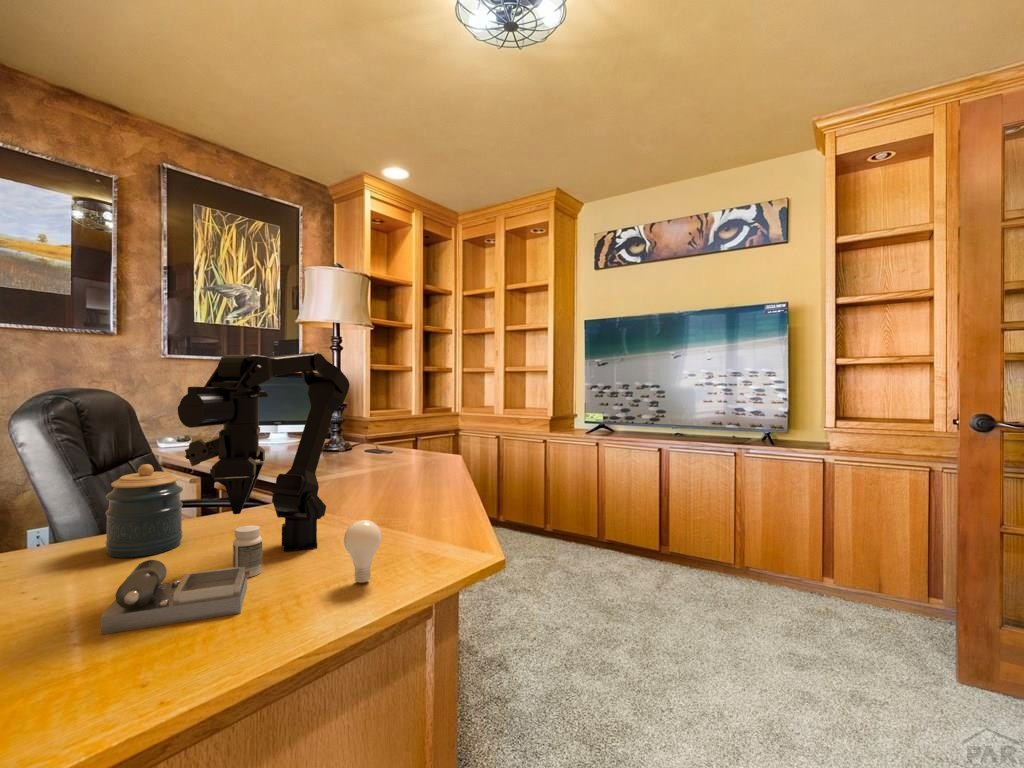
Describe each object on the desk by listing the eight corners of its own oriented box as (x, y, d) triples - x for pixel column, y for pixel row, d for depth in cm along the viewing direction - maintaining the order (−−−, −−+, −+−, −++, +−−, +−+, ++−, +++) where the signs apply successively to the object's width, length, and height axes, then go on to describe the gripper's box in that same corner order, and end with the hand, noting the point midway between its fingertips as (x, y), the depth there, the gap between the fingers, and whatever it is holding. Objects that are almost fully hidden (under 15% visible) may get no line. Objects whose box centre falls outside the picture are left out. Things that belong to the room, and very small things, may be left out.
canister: (157, 535, 112) (158, 457, 112) (196, 543, 107) (197, 461, 107) (90, 553, 100) (91, 466, 100) (130, 563, 95) (131, 471, 95)
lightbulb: (346, 593, 83) (347, 527, 83) (340, 579, 88) (341, 518, 88) (384, 586, 86) (385, 523, 86) (376, 573, 91) (377, 514, 91)
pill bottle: (267, 570, 92) (268, 526, 92) (246, 580, 87) (247, 533, 87) (248, 567, 93) (248, 523, 93) (226, 576, 89) (227, 530, 89)
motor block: (246, 587, 84) (247, 547, 84) (239, 615, 74) (240, 569, 74) (124, 604, 78) (125, 560, 78) (99, 636, 68) (99, 586, 68)
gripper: (202, 419, 96) (201, 499, 97) (175, 429, 79) (175, 526, 79) (265, 418, 100) (265, 494, 101) (253, 427, 83) (253, 519, 83)
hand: (240, 507), depth 91 cm, fingers open, 9 cm apart
